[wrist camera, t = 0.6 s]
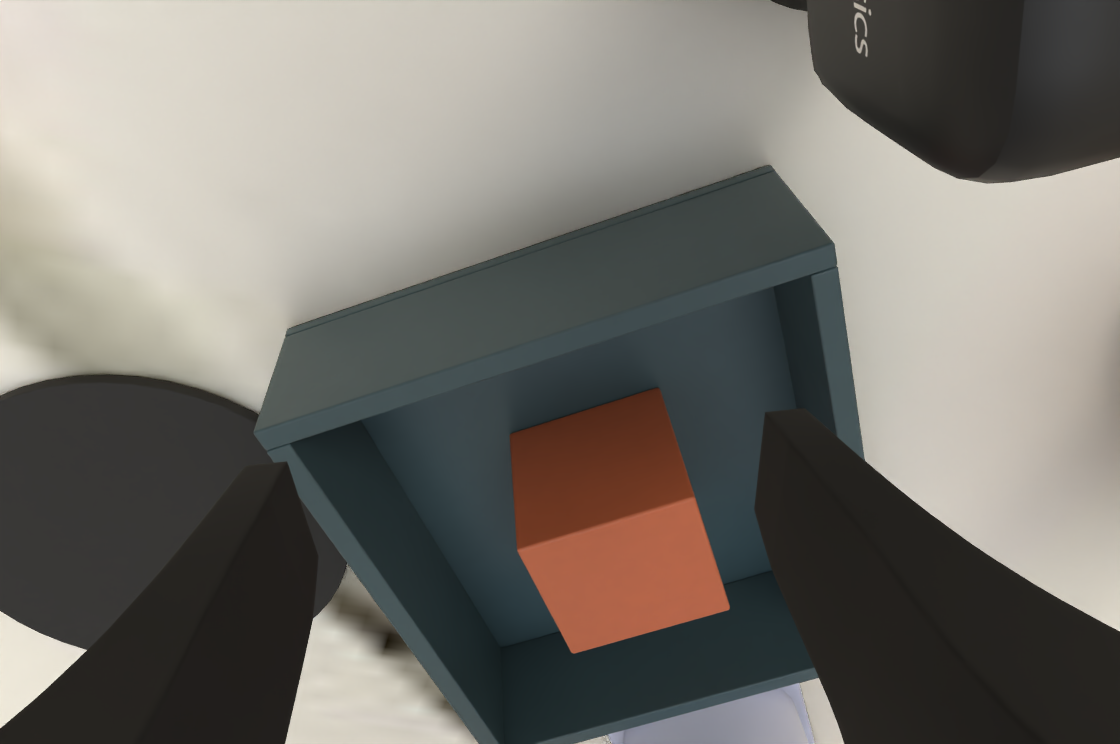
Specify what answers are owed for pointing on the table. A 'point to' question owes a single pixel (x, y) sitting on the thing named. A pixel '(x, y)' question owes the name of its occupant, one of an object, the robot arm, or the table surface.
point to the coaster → (114, 494)
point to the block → (612, 523)
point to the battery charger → (977, 79)
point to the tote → (554, 392)
